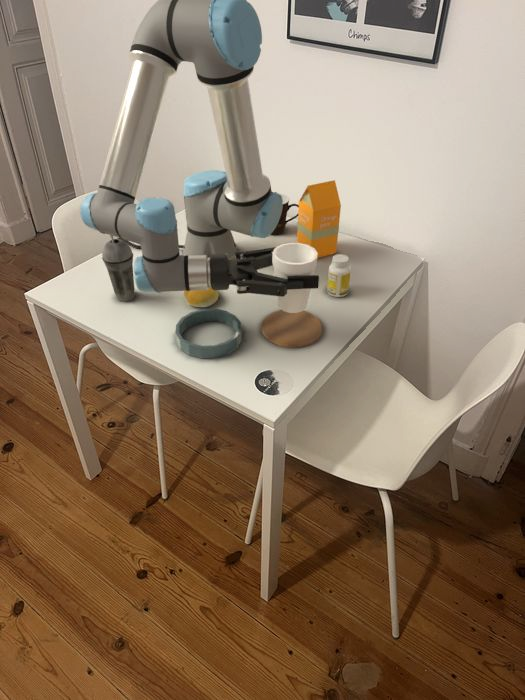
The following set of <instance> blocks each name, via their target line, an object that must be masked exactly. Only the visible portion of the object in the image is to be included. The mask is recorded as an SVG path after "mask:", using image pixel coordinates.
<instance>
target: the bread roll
mask: <svg viewBox="0 0 525 700" xmlns="http://www.w3.org/2000/svg"><path fill="white" fill-rule="evenodd" d="M183 295H184V297H185V299H186V302H187V304H188V305H189V306H191V307H195V308H207V307H210V306H212V305H214V304H215V303H216V302H217V301H218V300H219V290H213V289H212V287H209V289H208V290H199V291H183Z"/></svg>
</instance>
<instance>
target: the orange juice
mask: <svg viewBox="0 0 525 700" xmlns="http://www.w3.org/2000/svg"><path fill="white" fill-rule="evenodd" d="M298 205H299V208H298V213H297V214H298V216H297V235H296V237H297V239H296V243H301V244H306V245H309V246H311V247H313V248H314V249H315V250H316V251H317V253H318V256H317V259H318V258H322V257H327V256H330V255H333V254H337V249H338V238H339V231H340V218H341V208H342V203H341V200H340V196H339V191H338V187H337V183H336V180H335V179H334V180H329V181H324V182H318V183H314V184H309V185H307V186H306V188H305V190H304V192H303V193H302V195H301V196H300V199H299V200H298Z"/></svg>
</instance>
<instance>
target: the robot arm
mask: <svg viewBox="0 0 525 700" xmlns="http://www.w3.org/2000/svg"><path fill="white" fill-rule="evenodd" d="M262 44H263V33H262V27H261V22H260V19H259V15H258V13H257V11H256V9H255V8H254V6H253V5H252V4H251V3H250V2H249V1H248V0H157V1H156V2H155V3H153V5H152V6H151V7H150V8H149V9H148V10H147V13H146V14H145V15H144V17H143V18H142V20H141V22H140V24H139V25H138V28H137V30H136V32H135V34H134V36H133V39H132V42H131V46H130V50H129V53H128V57H129V59H130V62H131V67H130V71H129V74H128V78H127V82H126V86H125V89H124V93H123V97H122V101H121V104H120V108H119V110H118V115H117V119H116V123H115V126H114V129H113V133H112V137H111V141H110V144H109V148H108V152H107V155H106V159H105V162H104V167H103V171H102V174H101V178H100V181H99V184H98V188H97V192H93V193H89V194H87V195H86V196H85V198H84V200H82V202H81V204H80V209H79V210H80V218H81V220H82V222H83V224H84V225H85V226H86V227H88V228H90V229H91V230H94V231H97V232H99V233H101V234H103V235H109V236H110V235H112V236H113V237H116V239H120V240H123V241H125V242H126V243H127V244H128V245H129V246H130V247H132V248H134V249H135V248H136V249H141V254H142V255H141V256H137V257H136V258H135V259H134V262H133V263H134V264H133V274H134V284H135V287H136V288H137V290H139V291H140V292H143V293H158V294H161V293H168V292H184V291H199V290H208V289H209V287H212V289H213V290H217V291H227V290H229V288H230V285H232V286H236V294H239V295H243V294H253V295H262V296H273V297H277V296H281V297H283V296H285V295H286V294H287V290H290V289H310V290H312V289H313V290H314V289H319V287H320V286H319V285H320V275H319V274H317V275H316V274H313V275H309V276H287V279H285V278H280V277H276V276H275V275H272V274H267V273H263V272H259V271H258V270H262V269H265V268H268V267H271V266H273V264H272V253H273V251H274V249H275V248H276V247H277V246H272V247H267V248H260V249H253V250H252V249H251V250H246V251H243V250H242V251H238V246H237V244H236V241H235V239H234V236H233V233H232V232H236V233H239V234H242V235H245V236H249V237H251V238H259V239H265V238H268V237H269V236H271V235H270V234H271V233H272V232H273V231H274V229H275V228H276V226H277V224H278V222H279V219H280V216H281V213H282V207H283V200H282V197H281V195H280V194H281V193H278V192H277V191H275V192H273V191H272V186H271V181H270V178H269V177H268V176H267V175H266V174H264V172H263V167H262V162H261V161H262V160H261V155H260V149H259V142H258V134H257V129H256V122H255V115H254V108H253V102H252V96H251V90H250V83H249V78H250V76H251V75H252V74H253V73H254V70H255V66H256V64H257V62H258V61H259V58H260V56H261V52H262V49H261V45H262ZM182 62H186V63H187V62H188V63H192V64H193V65H194V69H195V74H196V78H197V80H198V82H199V83H200V84H202V85H204V86H205V87H206V88H207V93H208V99H209V102H210V106H211V111H212V116H213V120H214V121H213V122H214V125H215V130H216V135H217V139H218V140H217V141H218V143H219V149H220V152H221V158H222V162H223V167H224V171H223V170H220V169H219V170H218V169H213V170H212V169H211V170H203V171H202V170H201V171H199V172H195V173H192V174H190V175H189V176H187V177H186V178H185V179H184V181H183V194H182V197H183V201H184V203H183V204H184V211H185V212H184V213H185V220H186V231H187V232H186V236H185V241H184V244H180V243H179V232H178V231H179V230H178V220H177V217H176V210H175V206H174V204H173V202H172V201H171V200H169V199H167V198H164V197H148V198H144V199H141V200H140V201H139V202H137V203H135V200H136V196H137V192H138V189H139V186H140V182H141V180H142V176H143V173H144V169H145V164H146V162H147V157H148V155H149V151H150V148H151V144H152V140H153V137H154V133H155V131H156V130H155V129H156V126H157V123H158V119H159V115H160V112H161V109H162V106H163V101H164V97H165V96H166V95H165V94H166V91H167V88H168V84H169V80H170V79H172V78H174V77H176V75H177V71H178V68H179V65H180V64H181V63H182ZM180 249H182V254H180Z"/></svg>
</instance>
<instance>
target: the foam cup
mask: <svg viewBox="0 0 525 700" xmlns="http://www.w3.org/2000/svg"><path fill="white" fill-rule="evenodd" d="M275 247H276V248H275V249H274V251H273V252H272V264H273V265H272V266H273V273H274V276H276V277H280V278H285V279H287V276H309V275H315V274H314V273H315V269H316V268H317V264H318V258H317V256H318V253H317V251H316V250H315V249H314V248H313V247H311V246H309V245H306V244H301V243H297V242H286V243H284V244H283V243H282V244H279V245H277V246H275ZM310 292H311V289H290V290H287V294H286V295H285V296H283V297H281V296H276V297H277V303H278V304H277V305H278V307H279V310H283V311H285V312H288V313H298V312H301V311H305V310H306V309H307V305H308V301H309V297H310Z"/></svg>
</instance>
